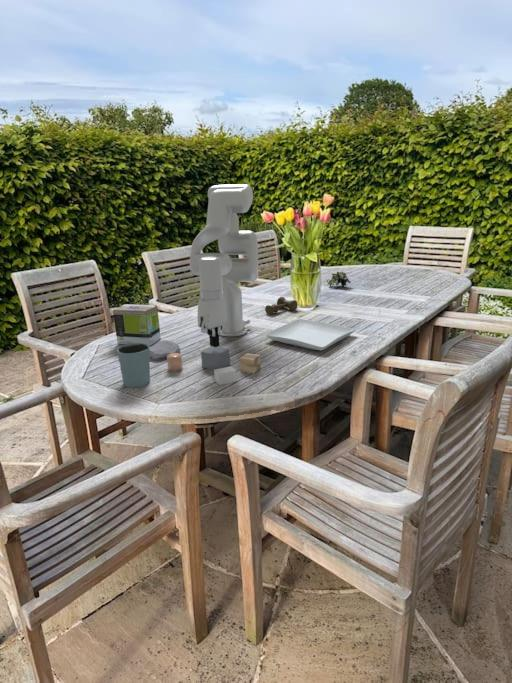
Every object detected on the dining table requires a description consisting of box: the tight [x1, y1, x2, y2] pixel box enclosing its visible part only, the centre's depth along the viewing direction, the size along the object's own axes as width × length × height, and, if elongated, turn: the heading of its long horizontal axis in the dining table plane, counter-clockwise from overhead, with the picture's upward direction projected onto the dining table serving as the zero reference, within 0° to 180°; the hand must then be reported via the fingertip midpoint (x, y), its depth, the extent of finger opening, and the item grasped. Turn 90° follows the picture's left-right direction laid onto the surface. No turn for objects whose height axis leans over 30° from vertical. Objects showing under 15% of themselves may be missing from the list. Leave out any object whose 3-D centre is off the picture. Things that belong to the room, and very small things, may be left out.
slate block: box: [200, 346, 231, 371], centre depth 162 cm, size 7×7×6 cm
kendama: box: [264, 296, 298, 316], centre depth 228 cm, size 6×10×20 cm
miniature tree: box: [326, 271, 352, 289], centre depth 272 cm, size 11×11×12 cm
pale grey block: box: [213, 365, 237, 386], centre depth 150 cm, size 6×4×4 cm, turn 114°
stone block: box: [149, 339, 181, 361], centre depth 175 cm, size 12×5×10 cm
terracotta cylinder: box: [166, 353, 184, 373], centre depth 161 cm, size 5×5×5 cm
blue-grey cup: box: [116, 343, 151, 389], centre depth 150 cm, size 10×10×12 cm
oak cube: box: [239, 352, 261, 374], centre depth 158 cm, size 5×5×5 cm
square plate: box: [264, 318, 356, 351], centre depth 187 cm, size 27×27×4 cm
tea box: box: [112, 303, 161, 347], centre depth 188 cm, size 15×10×15 cm
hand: (214, 345), depth 160 cm, fingers closed
